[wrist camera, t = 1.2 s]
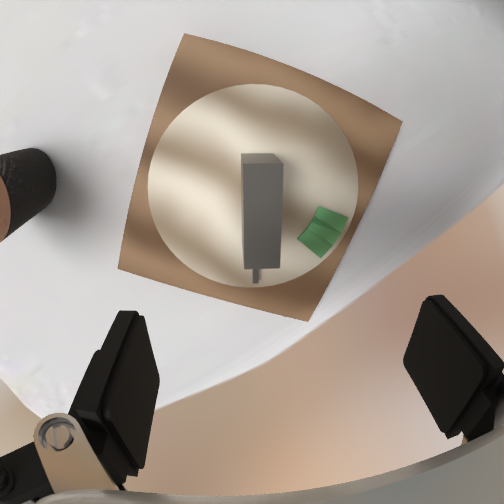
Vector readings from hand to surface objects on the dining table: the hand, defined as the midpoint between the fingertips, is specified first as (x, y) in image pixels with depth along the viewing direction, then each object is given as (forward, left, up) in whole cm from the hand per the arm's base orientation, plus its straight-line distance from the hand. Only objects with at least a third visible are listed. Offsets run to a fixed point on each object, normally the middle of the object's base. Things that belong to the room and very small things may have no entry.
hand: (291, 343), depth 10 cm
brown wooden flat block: (0, 0, -21) cm, 21 cm away
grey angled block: (+2, +1, -17) cm, 17 cm away
